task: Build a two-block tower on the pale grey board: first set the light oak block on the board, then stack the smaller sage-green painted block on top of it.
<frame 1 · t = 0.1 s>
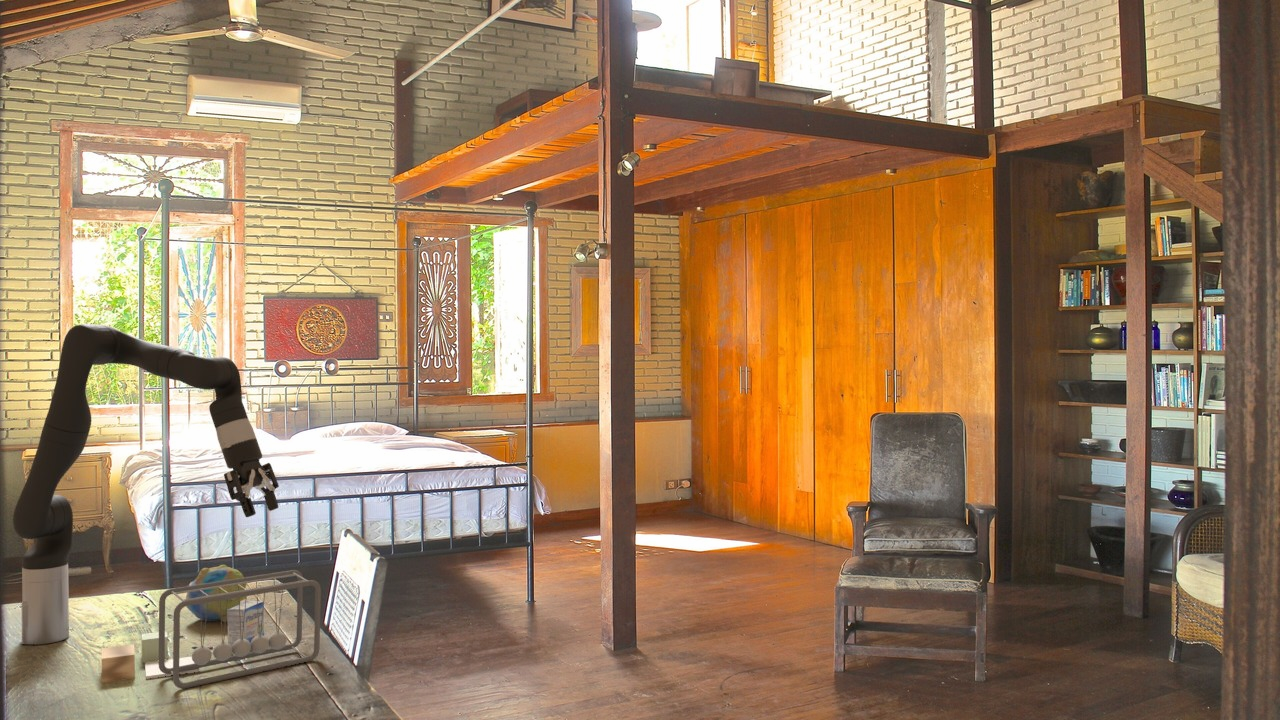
hand: (262, 512, 222), 31 cm above the table, tool tilted 20°, fingers open, 8 cm apart
newton's cradle: (241, 668, 213), on the table, touching board
medicine box: (246, 643, 232), on the table
oak block: (118, 675, 210), on the table
sage block: (154, 658, 221), on the table
board: (171, 668, 214), on the table
globe ball: (222, 619, 252), on the table
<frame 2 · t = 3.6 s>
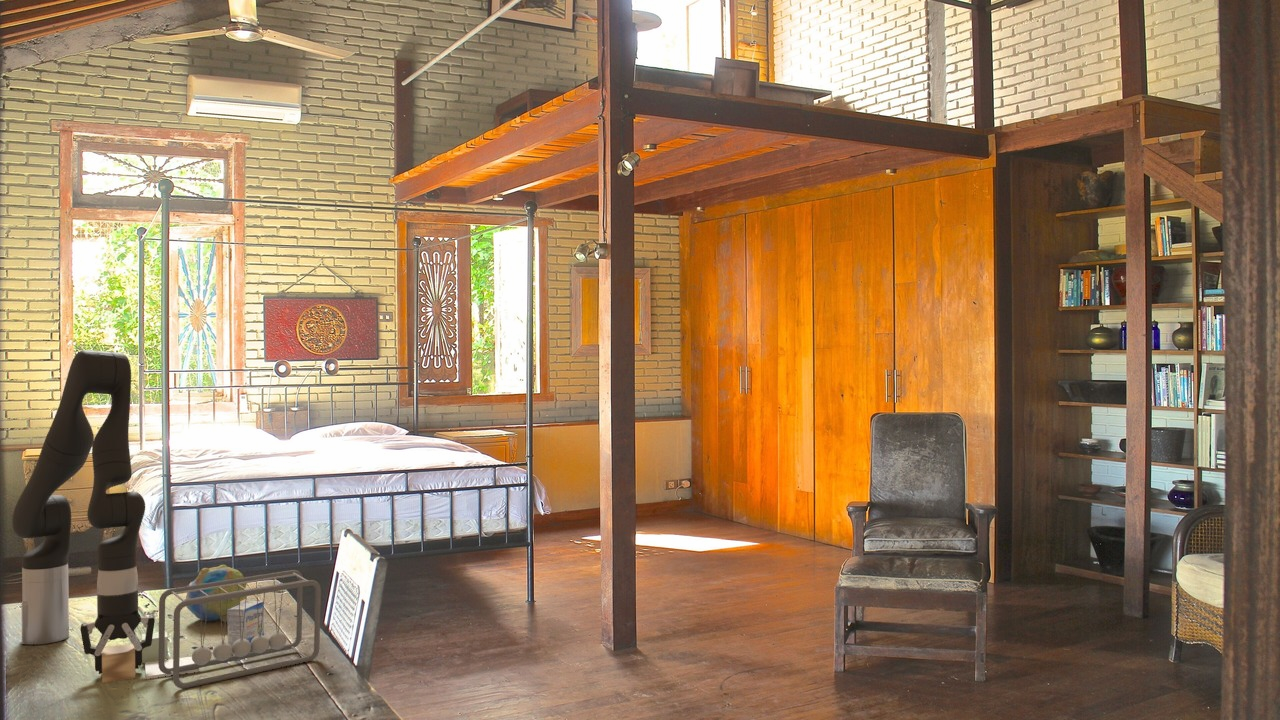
hand: (118, 670, 210), 1 cm above the table, tool pointing down, fingers closed on oak block, 6 cm apart
oak block: (118, 674, 210), on the table, touching gripper
everything else where it was.
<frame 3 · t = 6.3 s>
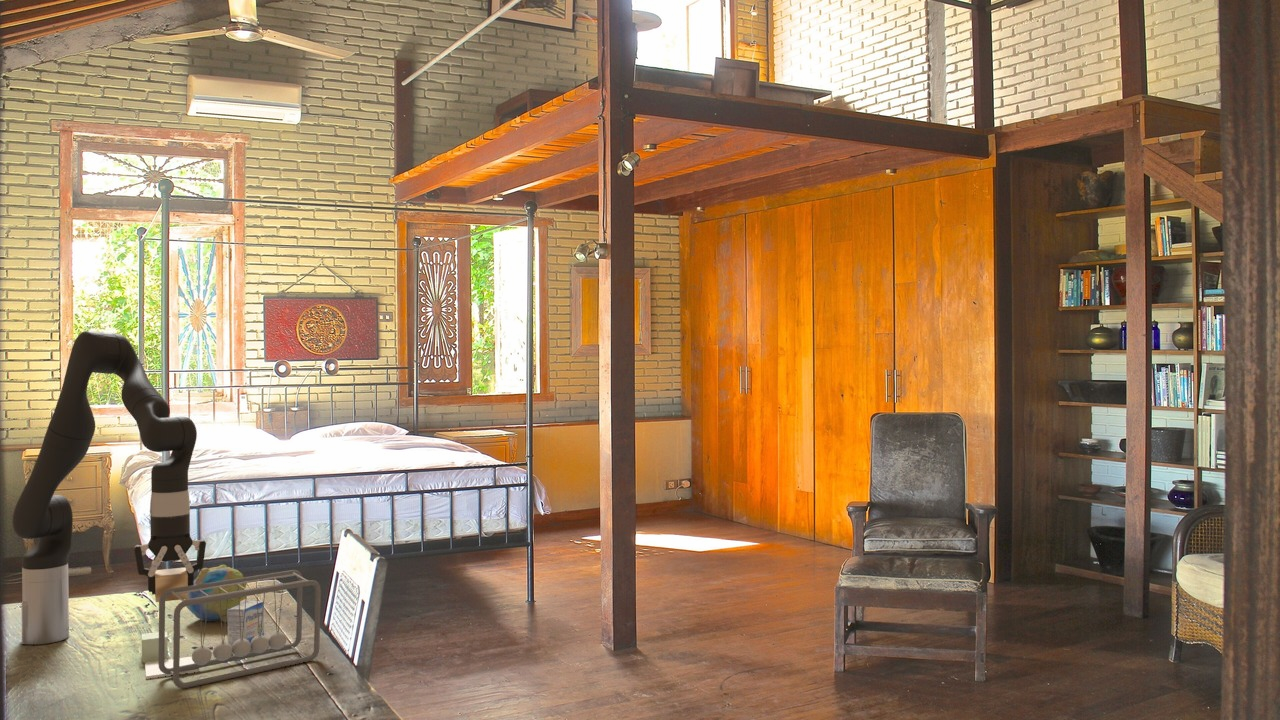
hand: (170, 591, 213), 16 cm above the table, tool pointing down, fingers closed on oak block, 6 cm apart
oak block: (171, 596, 213), point 15 cm above the table, touching gripper
everything else where it was.
when the fingers open (3 cm above the table, at t = 9.1 s): oak block drops 1 cm, resting on board.
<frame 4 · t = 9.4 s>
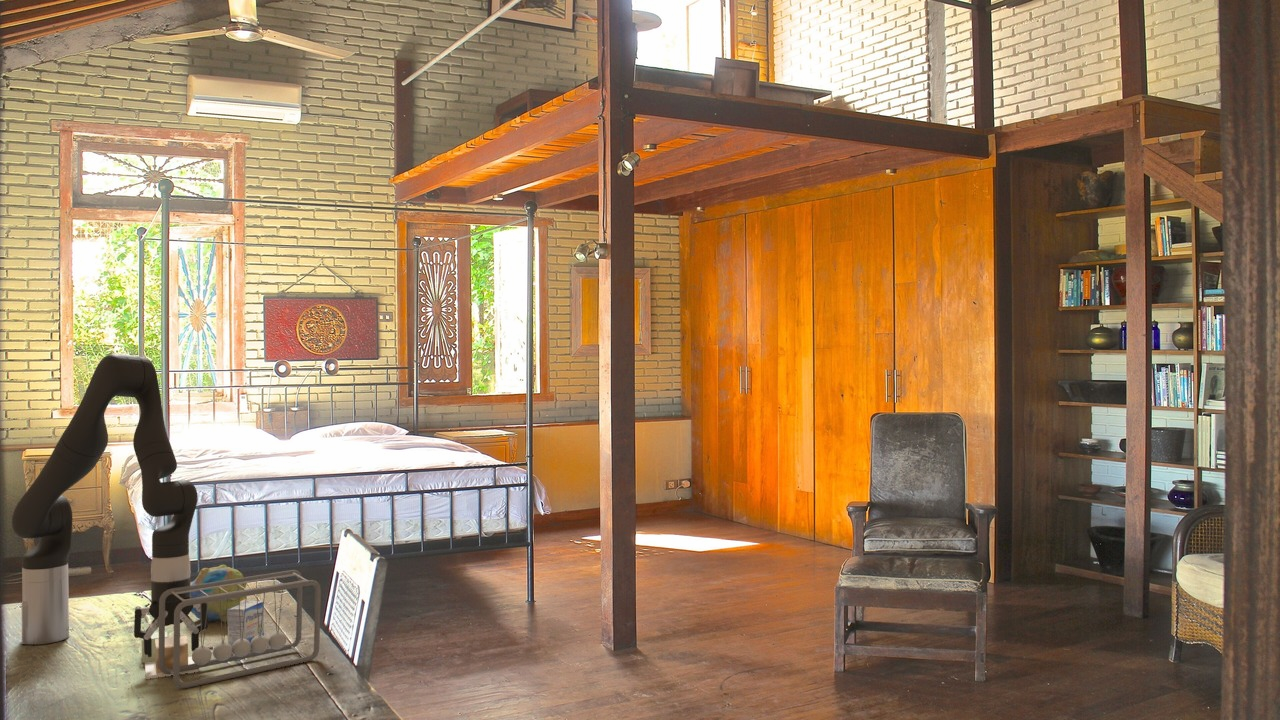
hand: (171, 653, 214), 3 cm above the table, tool pointing down, fingers open, 8 cm apart
oak block: (171, 665, 214), point 1 cm above the table, touching board
everything else where it was.
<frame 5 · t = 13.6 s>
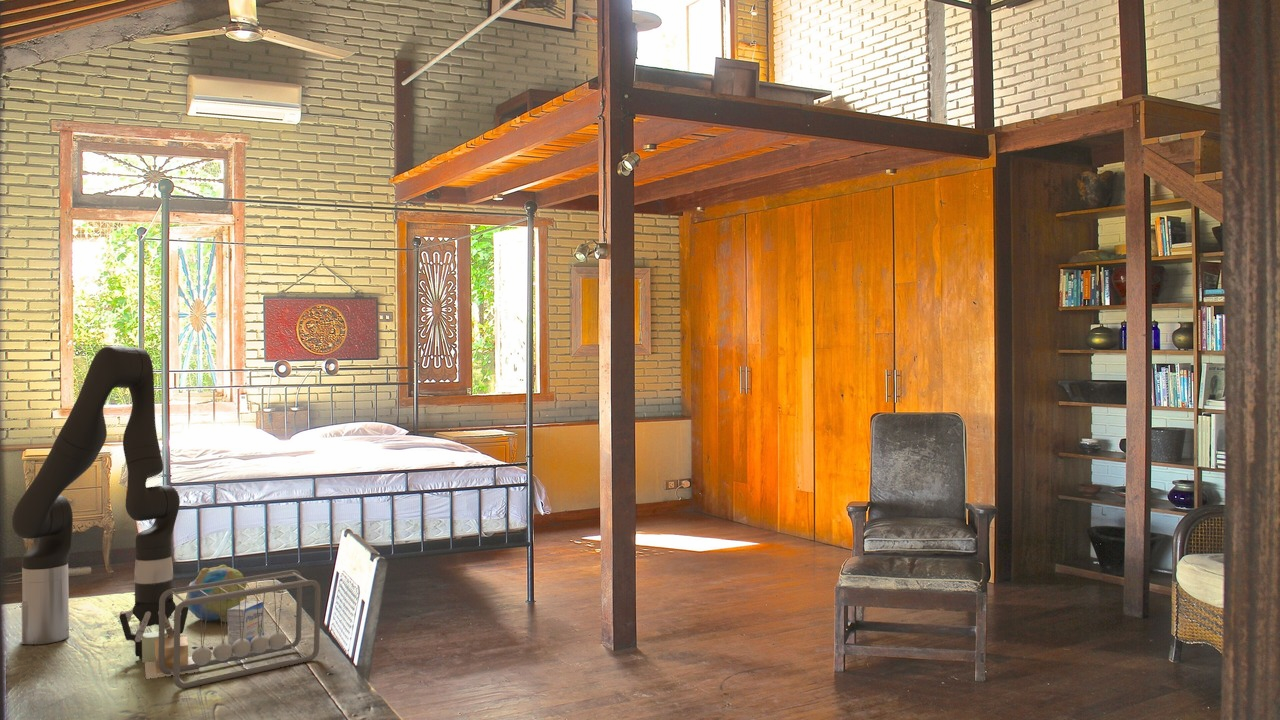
hand: (154, 655, 221), 0 cm above the table, tool pointing down, fingers closed on sage block, 5 cm apart
sage block: (154, 657, 221), on the table, touching gripper
everything else where it was.
when the fingers open (7 cm above the table, at t = 18.5 s): sage block stays where it is, resting on oak block.
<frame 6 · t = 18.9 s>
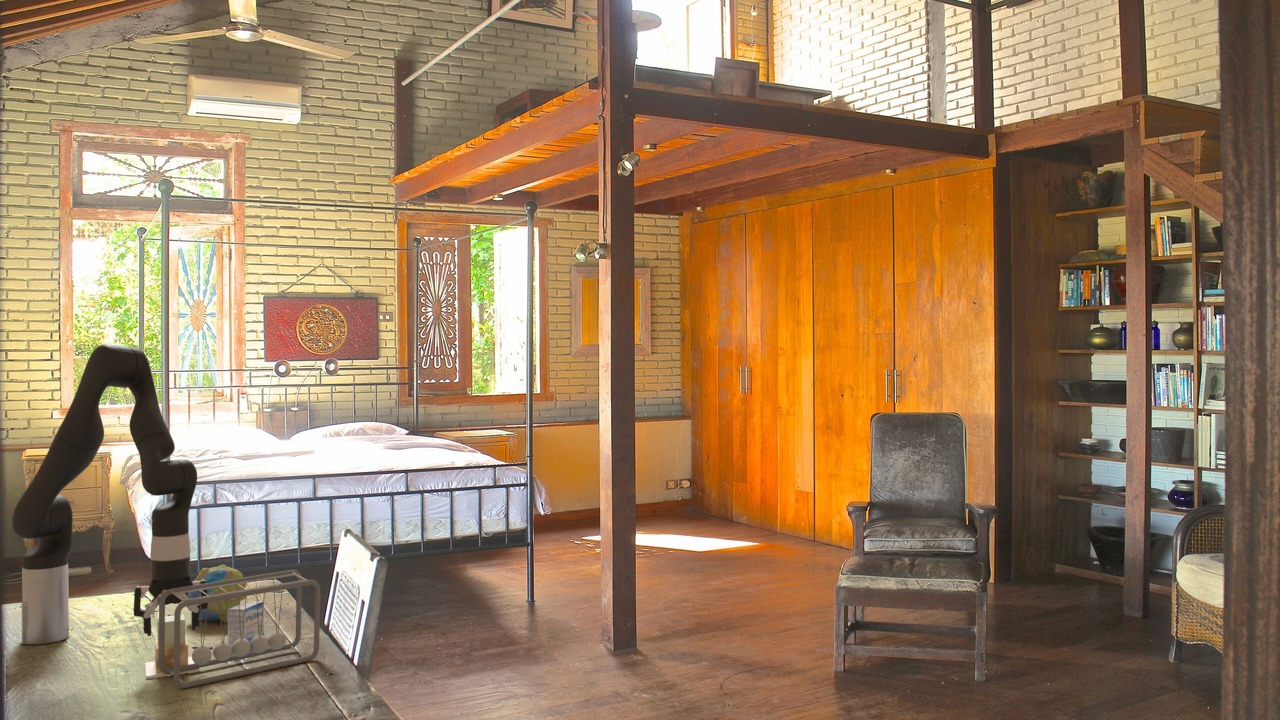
hand: (171, 632, 213), 8 cm above the table, tool pointing down, fingers open, 8 cm apart
oak block: (171, 665, 214), point 1 cm above the table, touching board, sage block
sage block: (171, 642, 214), point 6 cm above the table, touching oak block
everything else where it was.
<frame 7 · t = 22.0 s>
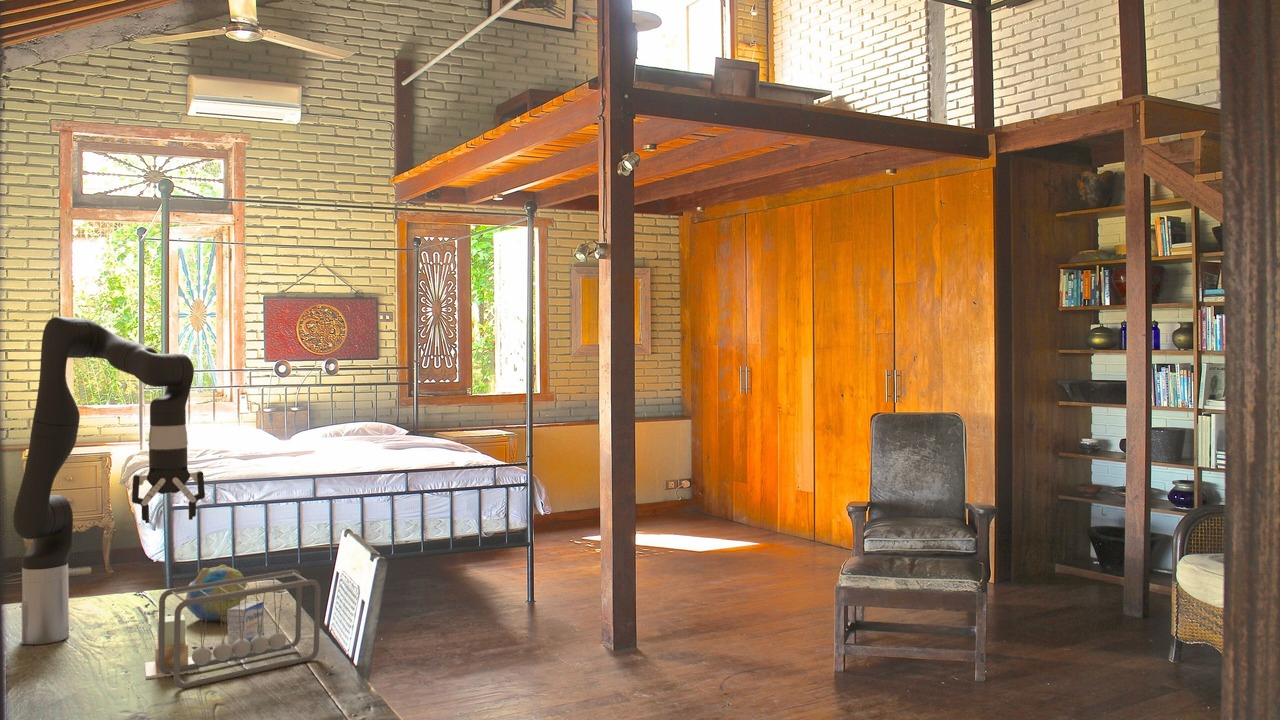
hand: (169, 520, 219), 30 cm above the table, tool pointing down, fingers open, 8 cm apart
nothing on the table moved.
at the end: oak block inside the target area on the board (0.0 cm from its centre), point 0.6 cm above the board's base; sage block inside the target area on the oak block (0.0 cm from its centre), point 5.0 cm above the oak block's base; sage block tilted 0° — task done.
